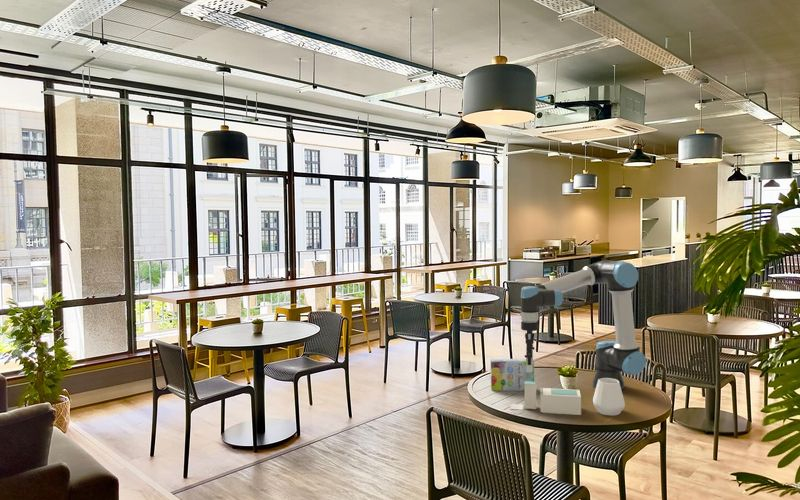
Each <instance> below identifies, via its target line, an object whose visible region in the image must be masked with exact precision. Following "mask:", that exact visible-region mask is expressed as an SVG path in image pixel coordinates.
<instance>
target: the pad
mask: <svg viewBox="0 0 800 500" xmlns="http://www.w3.org/2000/svg"><path fill="white" fill-rule="evenodd" d="M509 409H510V410H512V411H513V410H515V411H524V404H521V403H520V404H519V403H511V404H510V407H509Z"/></svg>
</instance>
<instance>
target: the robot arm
mask: <svg viewBox="0 0 800 500" xmlns="http://www.w3.org/2000/svg"><path fill="white" fill-rule="evenodd" d="M637 282H639V271H638V269H637V268H636V266H635V265H633V263H631V262H628V261H623V260H611V259H609V260H608V259H605V260H600V261H597V262H593V263H592V264H587V265H585V266H584V267H582V269H580V270H578V271H575V272H572V273H569V274H567V275H564V276H561V277H558V278H555V279H552V280H549V281H546V282H543V283H540V284H537V285H535V286H532V285H527V286H523V287H522V288H521V289H520V290H521V291H520V311H521V312H520V313H519V316H521V317H520V319H521V323H520V330H522V331H526V332H525V333H524V339H525V344H526V347H525V348H526V351H525V352H526V353H525V355H524V358H525V359H526V372H533V361H534V350H535V346H534V341H535V340H534V339H535V333H533V332H536V331H538V330H539V322H538V321H539V308H548V307H549V308H550V307H554V308H555V307H559V306H561V305H562V304H563V301H564V295H563V294H564V293H567V292H570V291H573V290H576V289H578V288H581V287H583V286H587V285H589V286H594V285H597V284H602V285H603V284H605V285H607V291H608V292H609V293H611V301H612V310H613V321H614V331H615V332H614V333H615V340H603V341H602V340H601V341H598V342H597V343H596V348H595V367H596V370H595V373H594V377H593V379H592V386H593V387H594V388H595V389H596V386H597V382H598V380H599V379H601V378H612V379H616V380H618V381H619V383H620V387H621V390H624V389H625V385H626V384H625V380H624V377H623V374H622V373H624V374H625V375H630V376H636V375H638V374H640V373H642V371H643V370H644V368H645V367H646V364H647V358H646V356H645V354H644V353H643V352H641V351H640V344H639V343H638V342H637V341H636V332H635V323H634V312H633V301H632V292H633V291H634V290H635V286H636V285H637Z"/></svg>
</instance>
